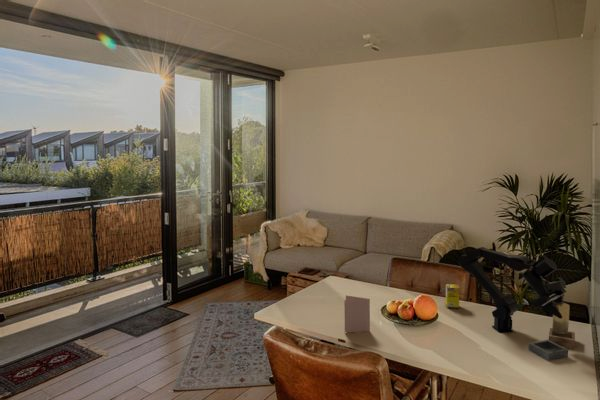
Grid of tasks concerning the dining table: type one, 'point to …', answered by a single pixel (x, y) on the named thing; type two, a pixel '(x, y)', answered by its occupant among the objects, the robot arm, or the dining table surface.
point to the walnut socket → (563, 338)
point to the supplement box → (452, 296)
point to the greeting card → (357, 314)
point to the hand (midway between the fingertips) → (564, 316)
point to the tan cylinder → (563, 323)
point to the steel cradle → (548, 350)
